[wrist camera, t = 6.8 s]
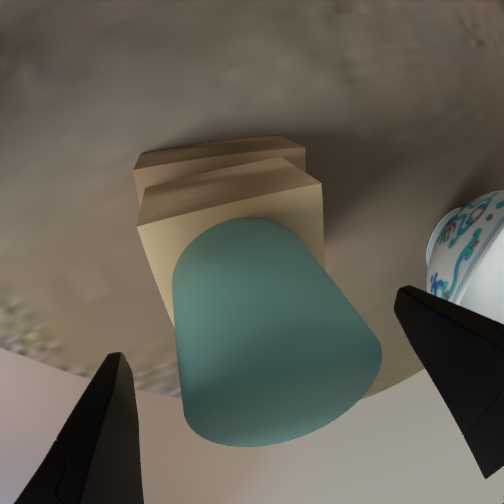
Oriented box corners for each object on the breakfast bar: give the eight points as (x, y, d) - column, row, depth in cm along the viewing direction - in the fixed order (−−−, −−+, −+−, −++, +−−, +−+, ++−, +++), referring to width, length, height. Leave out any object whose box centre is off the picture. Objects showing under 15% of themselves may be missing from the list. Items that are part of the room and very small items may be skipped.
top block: (180, 299, 16) (187, 357, 12) (145, 188, 13) (136, 226, 9) (292, 269, 16) (324, 318, 13) (281, 156, 13) (321, 183, 10)
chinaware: (497, 142, 21) (563, 171, 14) (489, 267, 28) (533, 304, 22) (378, 197, 20) (457, 250, 14) (391, 333, 28) (434, 388, 22)
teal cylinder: (188, 346, 12) (207, 459, 8) (156, 234, 9) (154, 355, 5) (308, 318, 13) (363, 414, 9) (309, 205, 10) (400, 293, 6)
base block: (164, 271, 19) (166, 312, 16) (141, 152, 15) (133, 170, 12) (280, 250, 21) (303, 285, 17) (277, 134, 17) (305, 147, 13)
